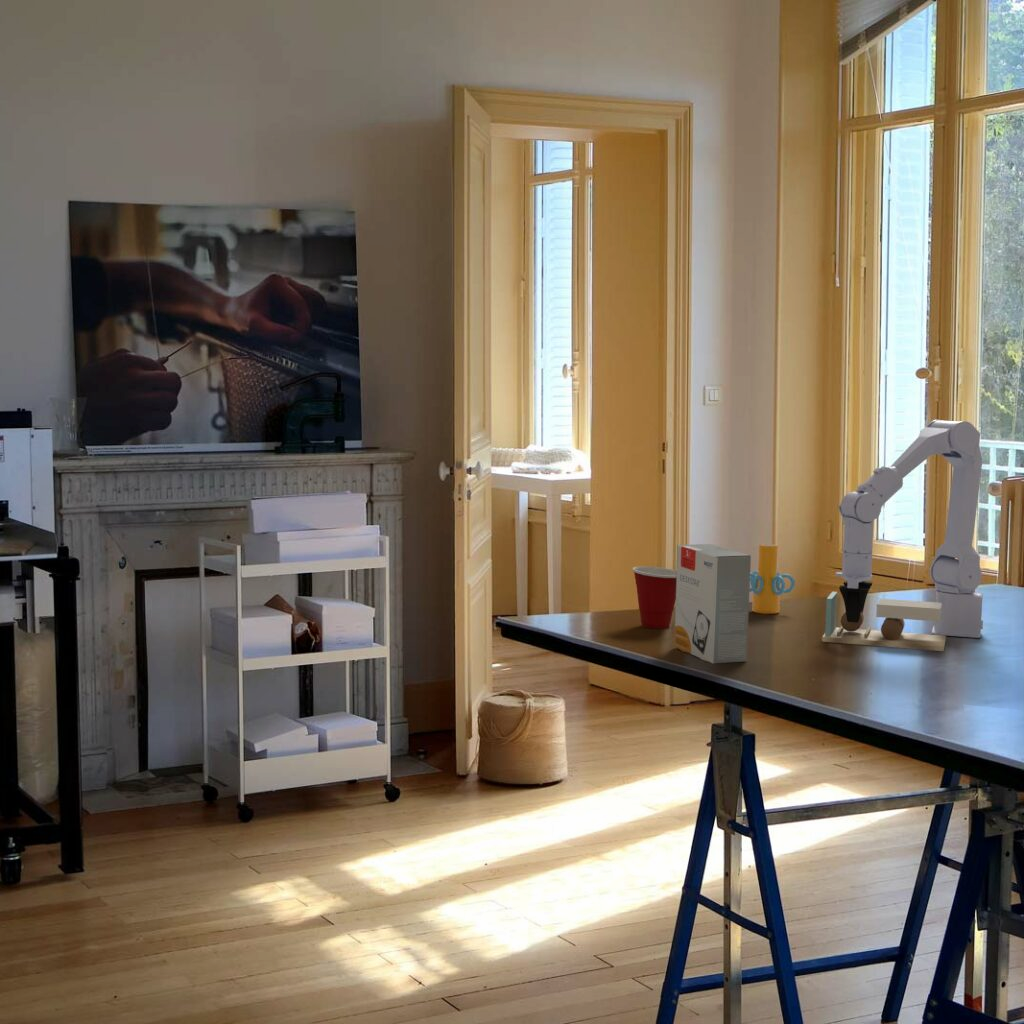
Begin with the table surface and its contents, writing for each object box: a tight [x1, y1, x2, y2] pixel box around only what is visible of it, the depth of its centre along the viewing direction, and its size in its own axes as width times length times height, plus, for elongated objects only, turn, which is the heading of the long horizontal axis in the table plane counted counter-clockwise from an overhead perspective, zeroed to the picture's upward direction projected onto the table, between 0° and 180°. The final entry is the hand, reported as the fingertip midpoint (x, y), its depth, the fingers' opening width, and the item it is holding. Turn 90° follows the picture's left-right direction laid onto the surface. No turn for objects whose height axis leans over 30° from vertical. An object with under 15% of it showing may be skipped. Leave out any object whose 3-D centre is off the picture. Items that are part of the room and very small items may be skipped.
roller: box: [840, 611, 865, 632], centre depth 284 cm, size 4×6×4 cm
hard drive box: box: [673, 543, 752, 664], centre depth 264 cm, size 16×8×20 cm, turn 21°
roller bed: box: [821, 591, 947, 652], centre depth 282 cm, size 23×12×8 cm, turn 71°
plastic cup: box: [632, 566, 677, 629], centre depth 293 cm, size 11×11×12 cm
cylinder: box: [749, 543, 796, 615], centre depth 314 cm, size 12×10×15 cm
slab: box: [875, 598, 942, 622], centre depth 280 cm, size 12×8×2 cm, turn 71°
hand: (854, 619), depth 284 cm, fingers open, 6 cm apart
